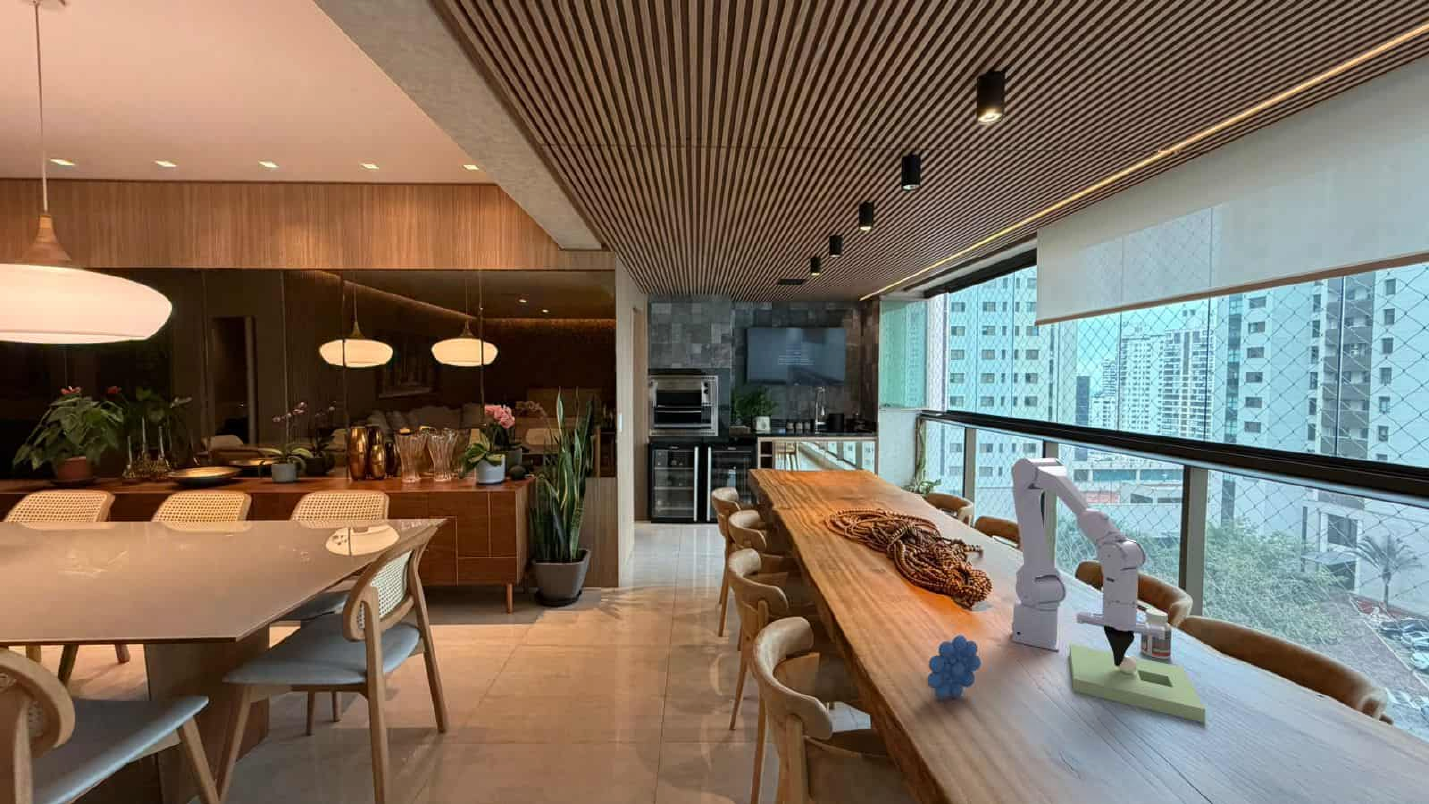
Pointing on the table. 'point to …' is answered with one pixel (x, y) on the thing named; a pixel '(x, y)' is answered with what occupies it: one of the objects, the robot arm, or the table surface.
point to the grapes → (953, 667)
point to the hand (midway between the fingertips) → (1118, 664)
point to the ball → (1128, 665)
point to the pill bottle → (1153, 644)
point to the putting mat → (1135, 683)
